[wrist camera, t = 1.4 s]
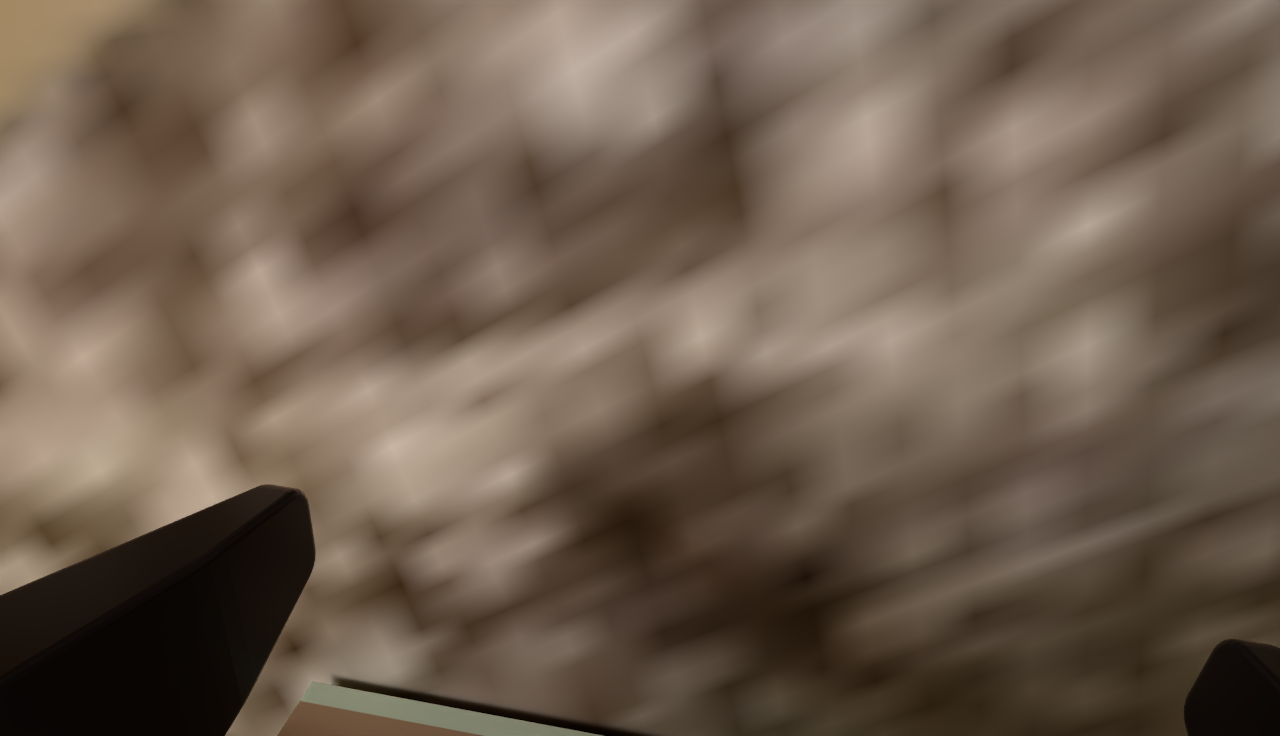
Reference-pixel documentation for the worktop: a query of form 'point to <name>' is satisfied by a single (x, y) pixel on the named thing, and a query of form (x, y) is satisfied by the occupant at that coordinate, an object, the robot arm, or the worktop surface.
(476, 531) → the worktop surface
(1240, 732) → the robot arm
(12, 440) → the worktop surface
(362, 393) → the worktop surface
